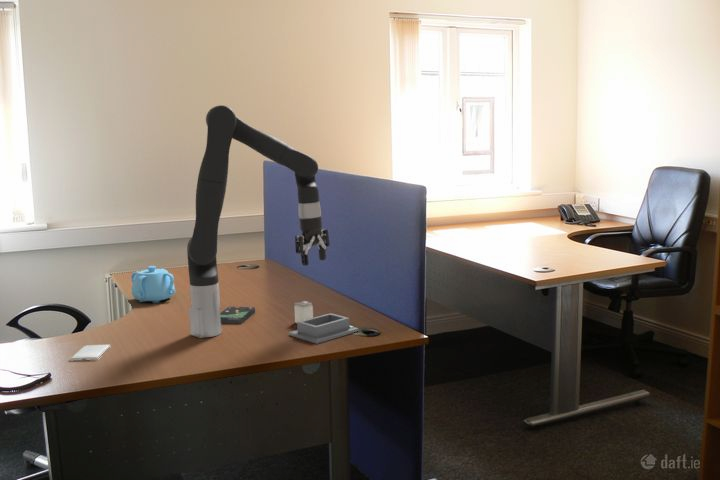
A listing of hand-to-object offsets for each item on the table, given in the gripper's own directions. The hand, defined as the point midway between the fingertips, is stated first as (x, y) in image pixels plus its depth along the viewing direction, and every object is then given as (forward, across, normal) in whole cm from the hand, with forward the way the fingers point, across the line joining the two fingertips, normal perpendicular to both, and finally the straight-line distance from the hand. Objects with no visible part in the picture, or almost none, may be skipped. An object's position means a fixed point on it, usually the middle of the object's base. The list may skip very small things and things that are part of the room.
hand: (314, 262), depth 255 cm
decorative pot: (+19, +12, -78) cm, 81 cm away
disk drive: (+21, +12, -30) cm, 38 cm away
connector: (+21, +3, -4) cm, 22 cm away
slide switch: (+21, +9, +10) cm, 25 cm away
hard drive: (+18, +66, -35) cm, 77 cm away
